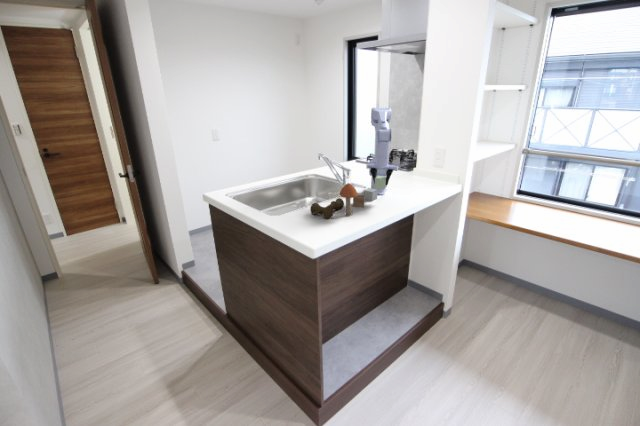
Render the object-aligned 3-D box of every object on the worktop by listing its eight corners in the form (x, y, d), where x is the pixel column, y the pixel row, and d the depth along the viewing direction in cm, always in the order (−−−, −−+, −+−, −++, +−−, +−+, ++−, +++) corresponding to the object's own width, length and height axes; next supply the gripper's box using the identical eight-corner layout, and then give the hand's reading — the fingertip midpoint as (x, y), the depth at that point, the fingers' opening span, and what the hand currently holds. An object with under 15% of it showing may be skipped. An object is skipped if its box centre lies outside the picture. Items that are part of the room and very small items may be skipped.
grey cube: (368, 197, 166) (368, 187, 165) (376, 198, 164) (377, 189, 162) (363, 199, 163) (363, 190, 161) (372, 201, 160) (372, 192, 158)
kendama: (348, 211, 149) (320, 223, 135) (332, 207, 156) (304, 218, 141) (348, 199, 147) (320, 209, 133) (332, 195, 154) (303, 205, 139)
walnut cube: (354, 203, 158) (354, 193, 156) (364, 204, 157) (364, 194, 155) (352, 206, 153) (353, 197, 151) (363, 207, 152) (363, 197, 150)
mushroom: (342, 219, 139) (343, 186, 133) (336, 213, 146) (336, 181, 140) (359, 217, 141) (360, 184, 135) (353, 211, 148) (353, 179, 142)
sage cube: (376, 185, 157) (377, 175, 155) (386, 186, 155) (387, 176, 153) (374, 188, 152) (374, 178, 150) (384, 189, 151) (385, 179, 149)
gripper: (365, 156, 147) (364, 184, 152) (396, 158, 142) (394, 187, 147) (368, 153, 153) (367, 181, 158) (399, 155, 148) (397, 183, 153)
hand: (380, 184), depth 153 cm, fingers closed on sage cube, 5 cm apart
